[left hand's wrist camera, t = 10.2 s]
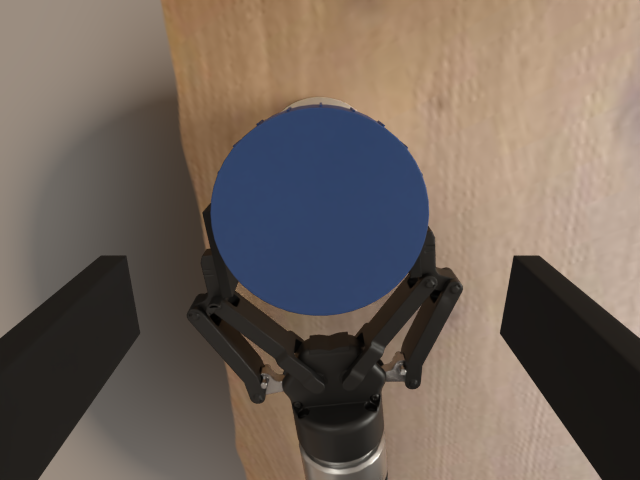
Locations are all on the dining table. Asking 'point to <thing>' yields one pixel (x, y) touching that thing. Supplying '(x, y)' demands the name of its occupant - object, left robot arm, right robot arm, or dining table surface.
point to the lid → (319, 210)
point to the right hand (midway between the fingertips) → (309, 194)
